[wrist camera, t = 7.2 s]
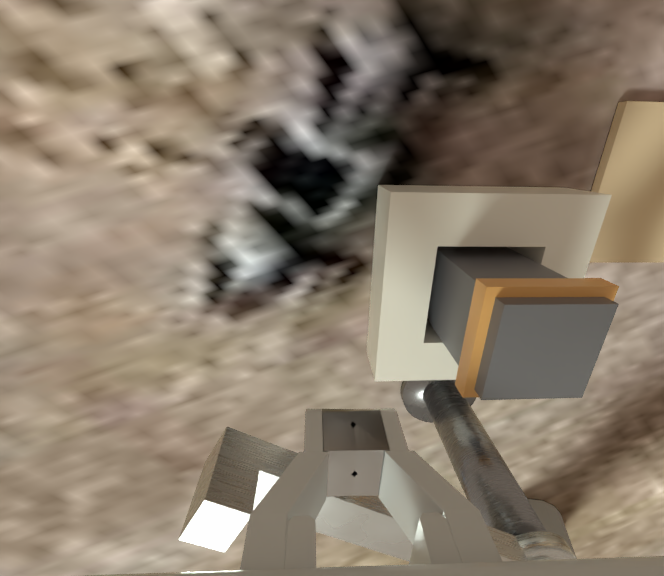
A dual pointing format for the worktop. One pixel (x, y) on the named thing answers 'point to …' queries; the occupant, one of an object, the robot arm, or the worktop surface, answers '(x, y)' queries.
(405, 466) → the robot arm
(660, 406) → the worktop surface
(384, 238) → the socket
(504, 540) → the grey metal bar
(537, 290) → the plug
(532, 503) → the lava lamp
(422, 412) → the post
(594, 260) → the coaster
